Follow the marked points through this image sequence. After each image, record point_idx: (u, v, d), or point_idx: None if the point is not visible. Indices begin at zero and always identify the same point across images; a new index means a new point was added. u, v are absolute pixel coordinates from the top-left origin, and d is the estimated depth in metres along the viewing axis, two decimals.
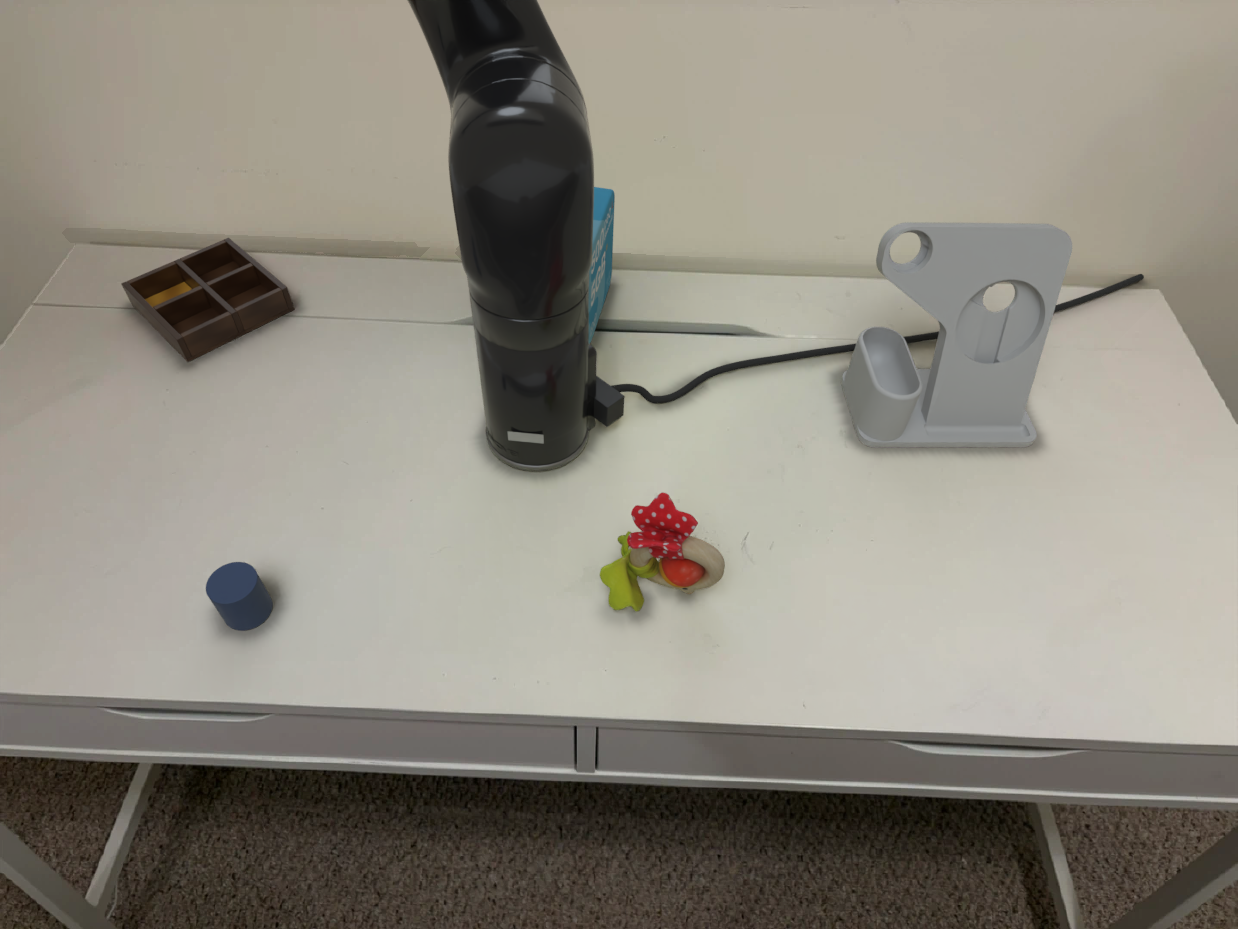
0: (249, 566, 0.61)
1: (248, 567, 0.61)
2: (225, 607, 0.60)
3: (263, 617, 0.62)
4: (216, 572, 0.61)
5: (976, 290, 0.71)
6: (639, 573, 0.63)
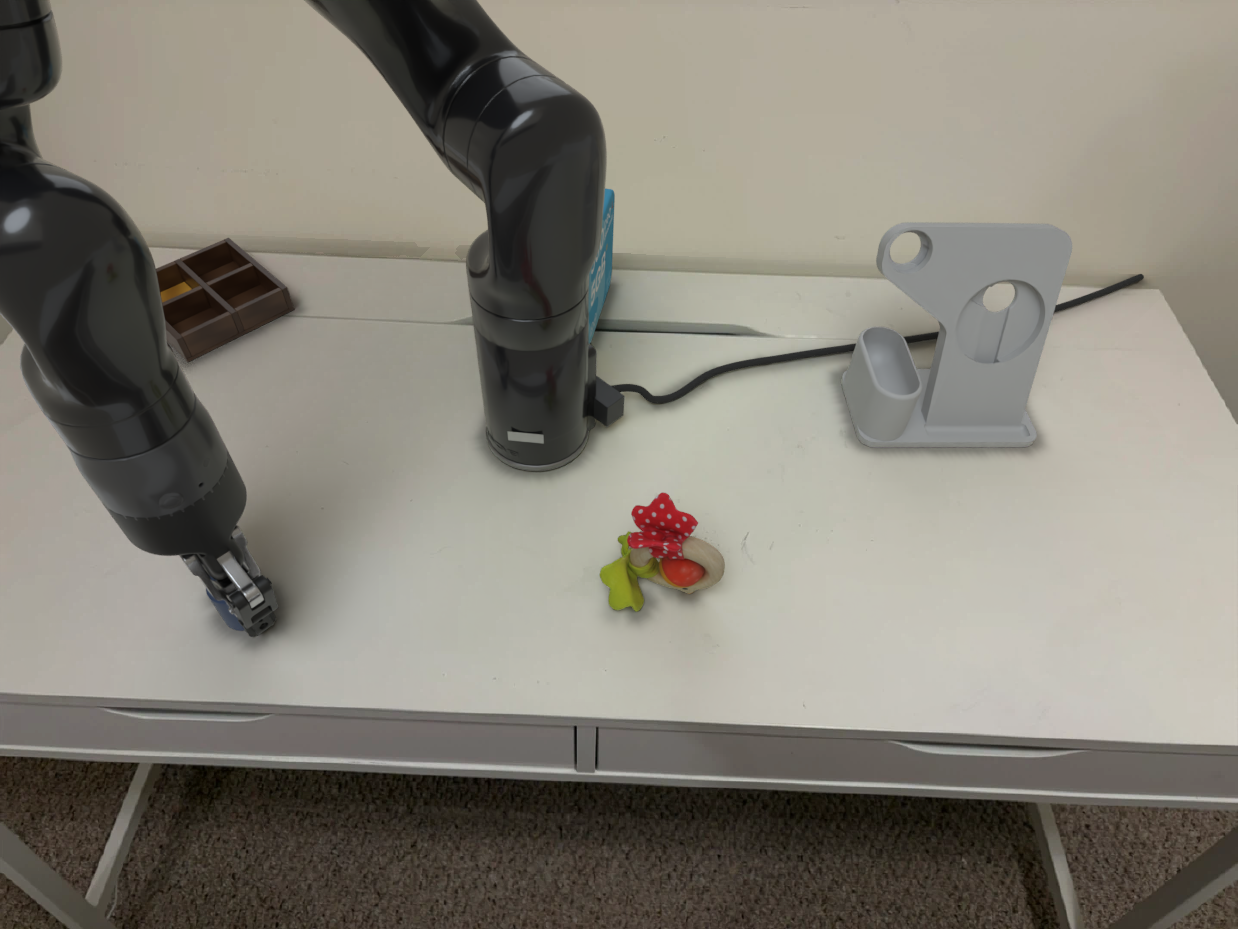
0: None
1: None
2: (225, 607, 0.60)
3: None
4: None
5: (976, 289, 0.71)
6: (639, 573, 0.63)
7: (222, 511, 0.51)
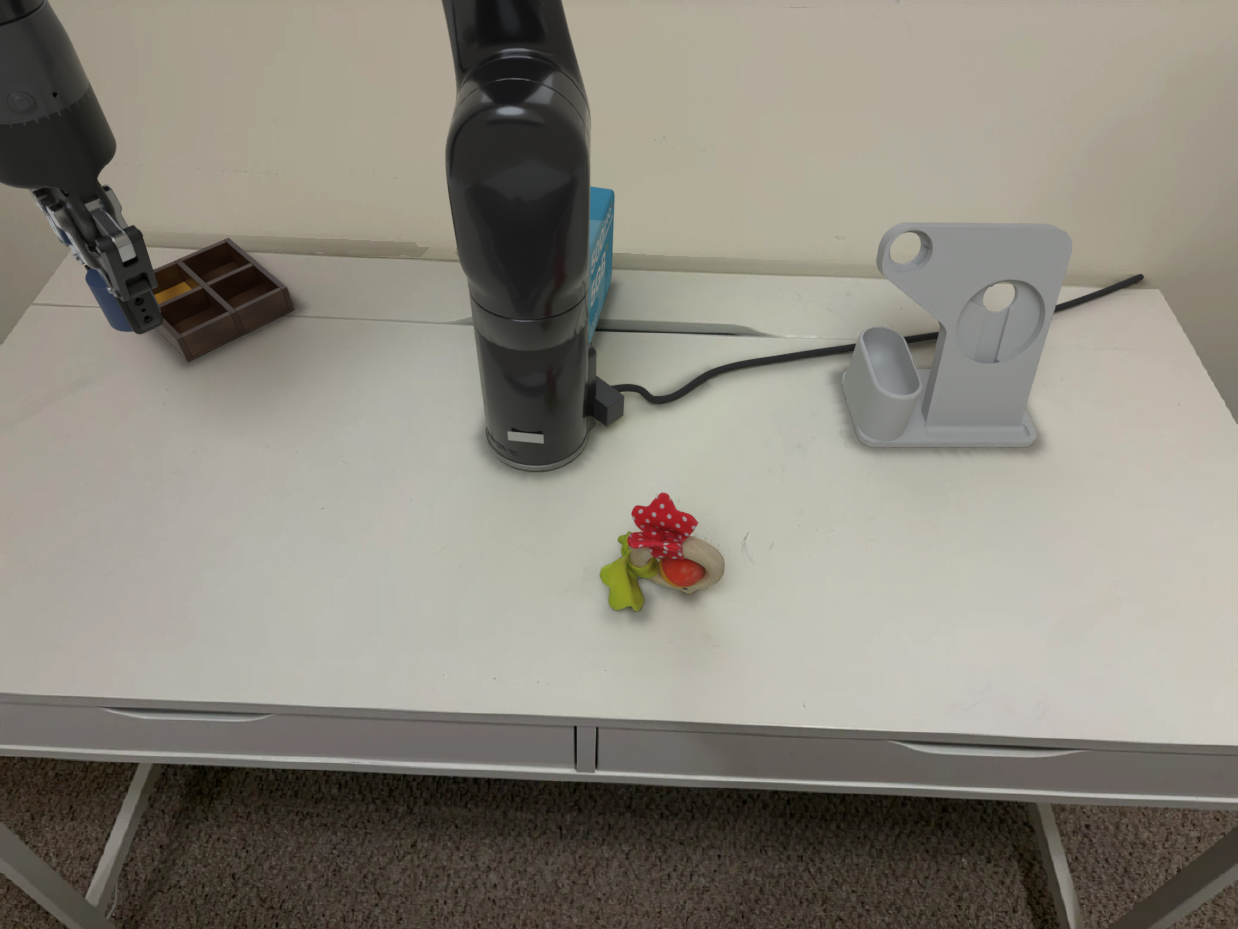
0: None
1: None
2: (105, 295, 0.58)
3: None
4: None
5: (976, 290, 0.71)
6: (639, 573, 0.63)
7: (84, 141, 0.50)
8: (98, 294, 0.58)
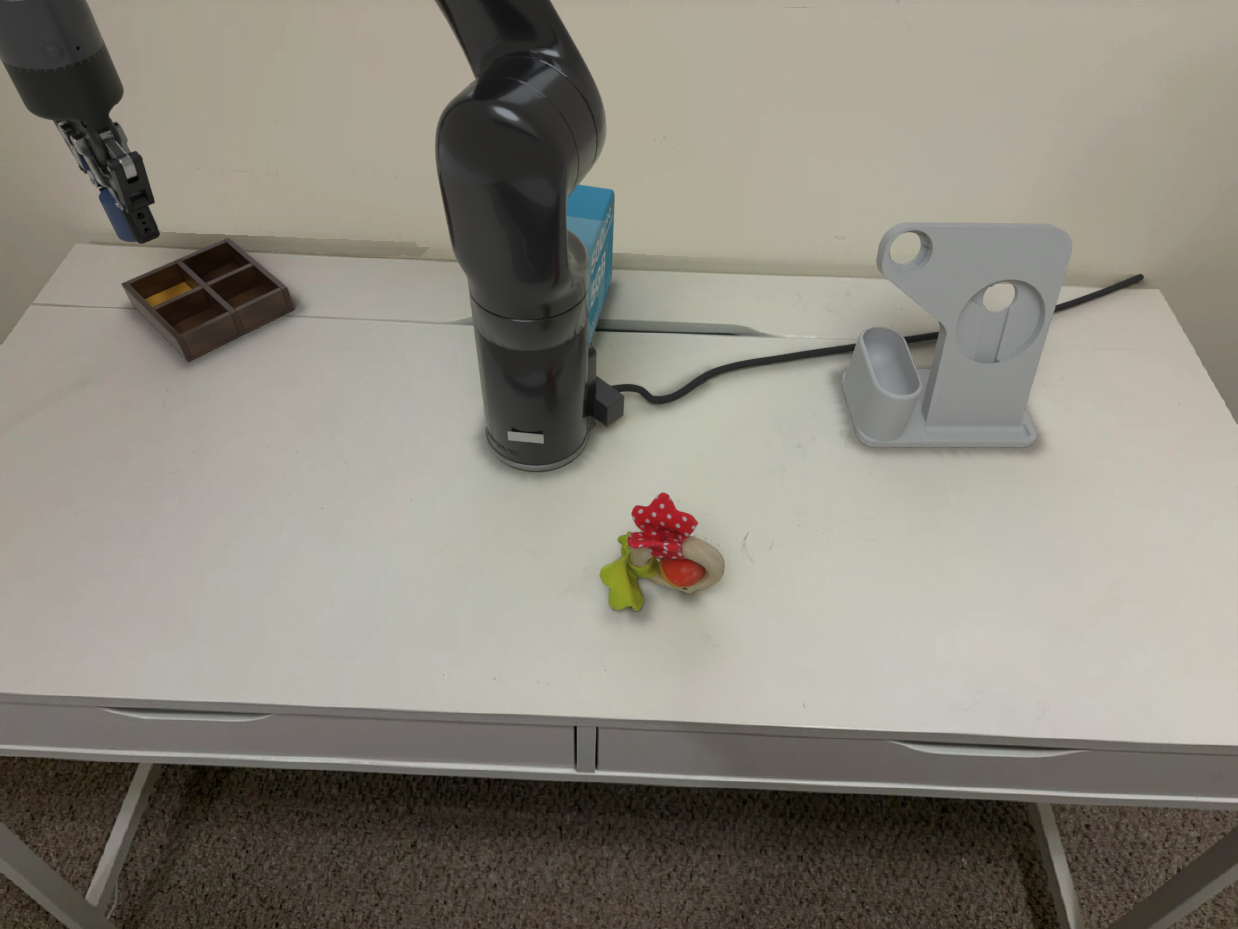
0: None
1: None
2: (114, 210, 0.75)
3: None
4: None
5: (976, 290, 0.71)
6: (639, 573, 0.63)
7: (99, 85, 0.66)
8: (108, 209, 0.75)
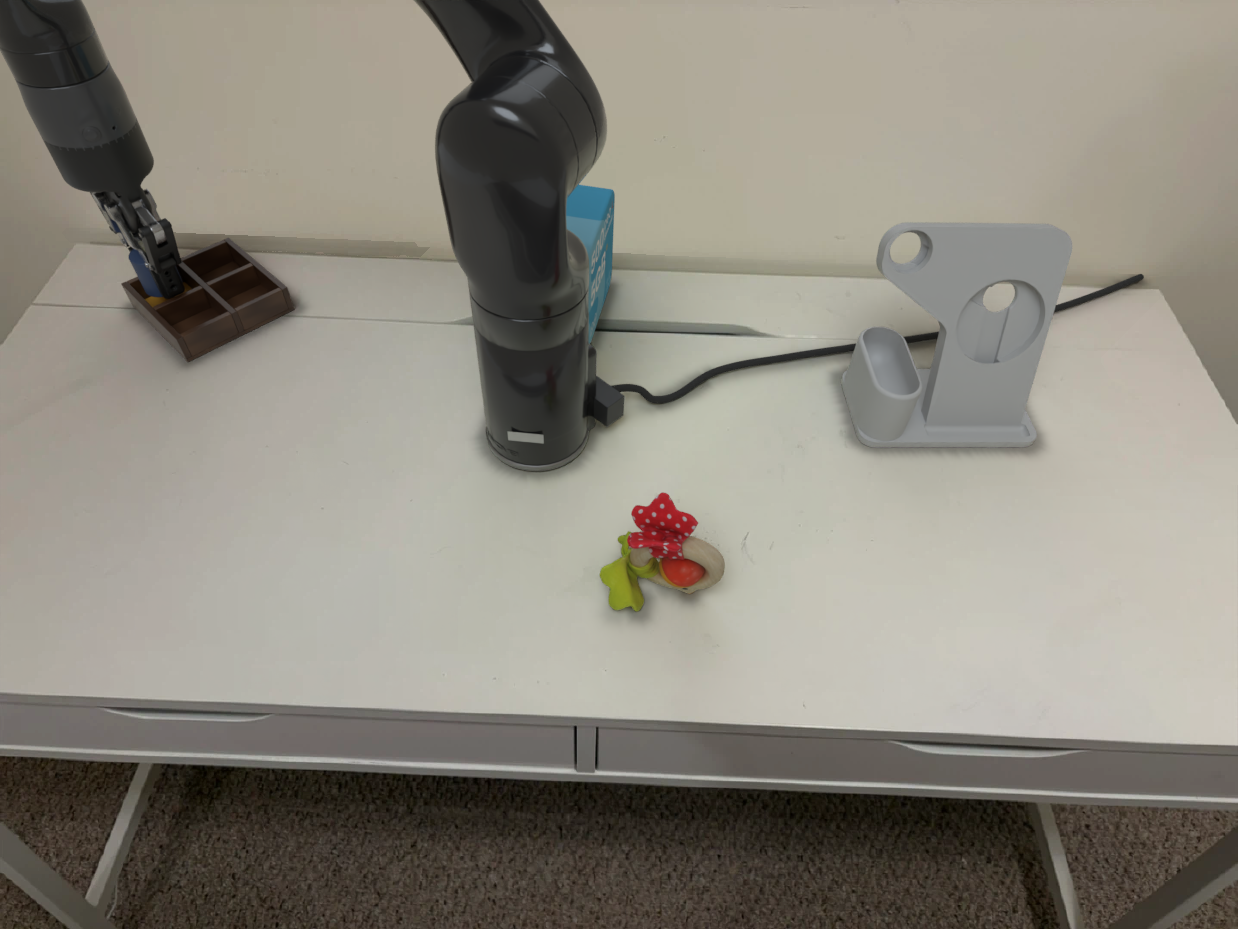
0: None
1: None
2: (143, 269, 0.80)
3: None
4: None
5: (976, 290, 0.71)
6: (639, 573, 0.63)
7: (132, 159, 0.71)
8: (137, 268, 0.80)
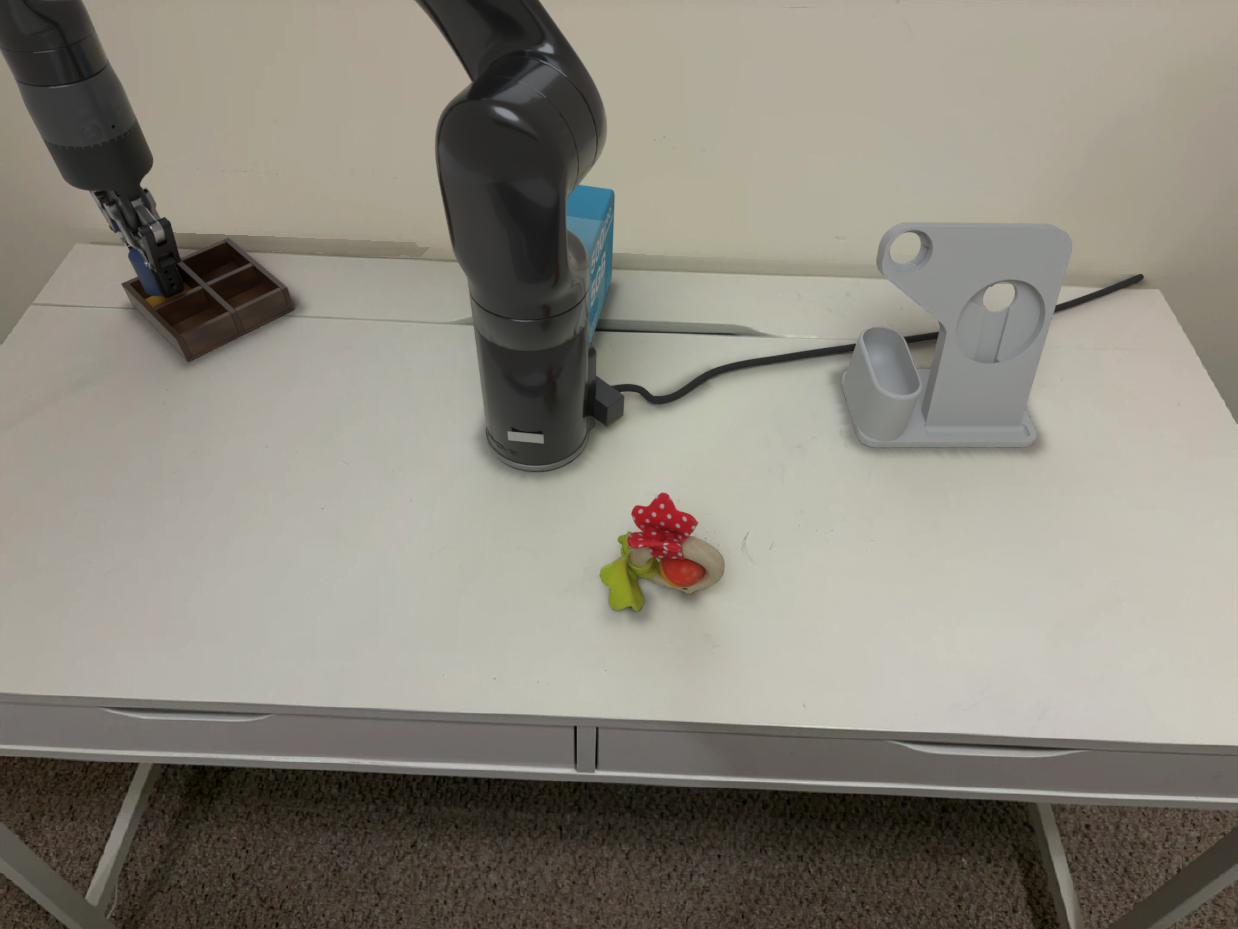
0: None
1: None
2: (142, 268, 0.80)
3: None
4: None
5: (976, 290, 0.71)
6: (639, 573, 0.63)
7: (131, 158, 0.71)
8: (137, 267, 0.80)
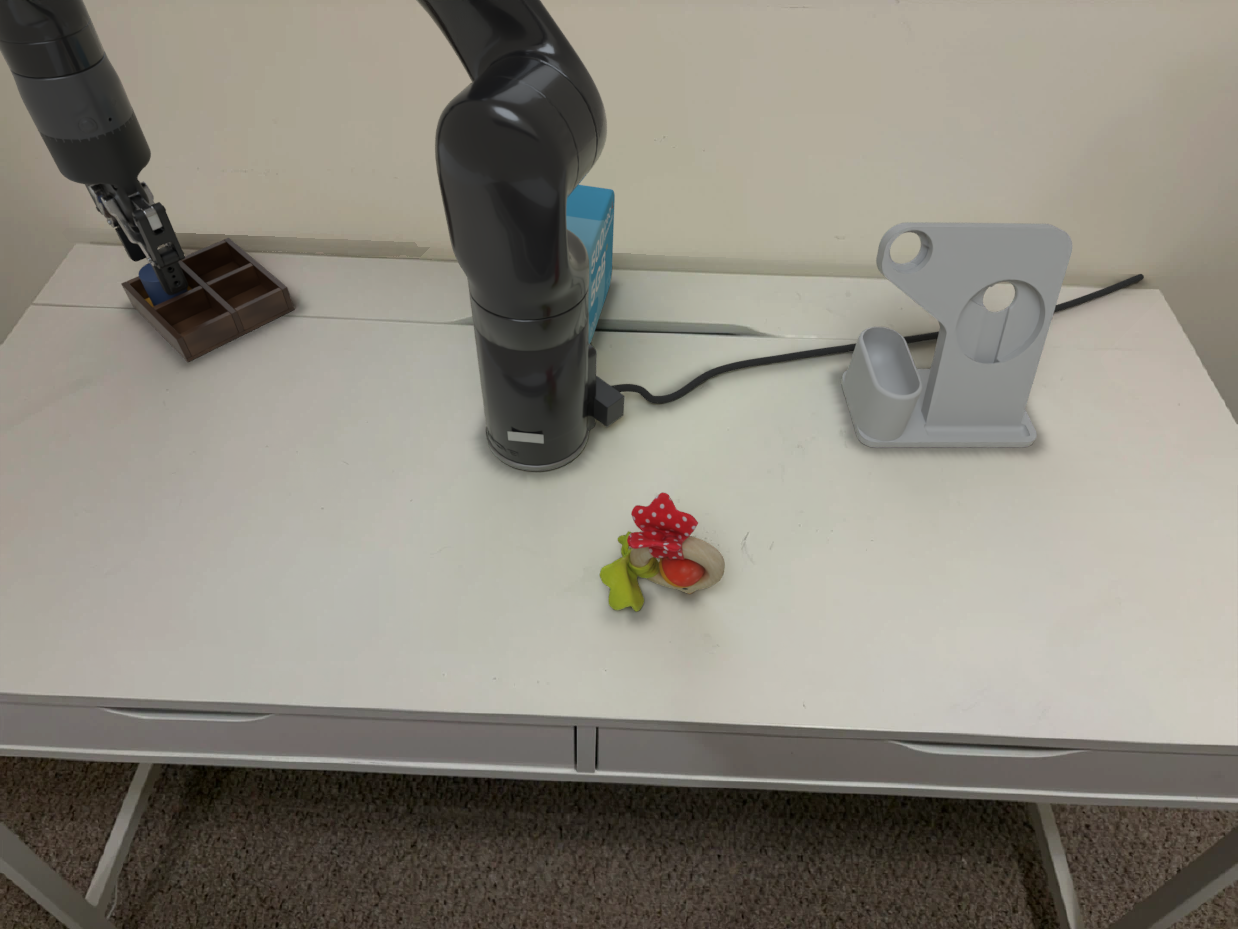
0: None
1: None
2: (152, 286, 0.82)
3: None
4: (147, 264, 0.83)
5: (976, 290, 0.71)
6: (639, 573, 0.63)
7: (129, 151, 0.71)
8: (147, 285, 0.82)
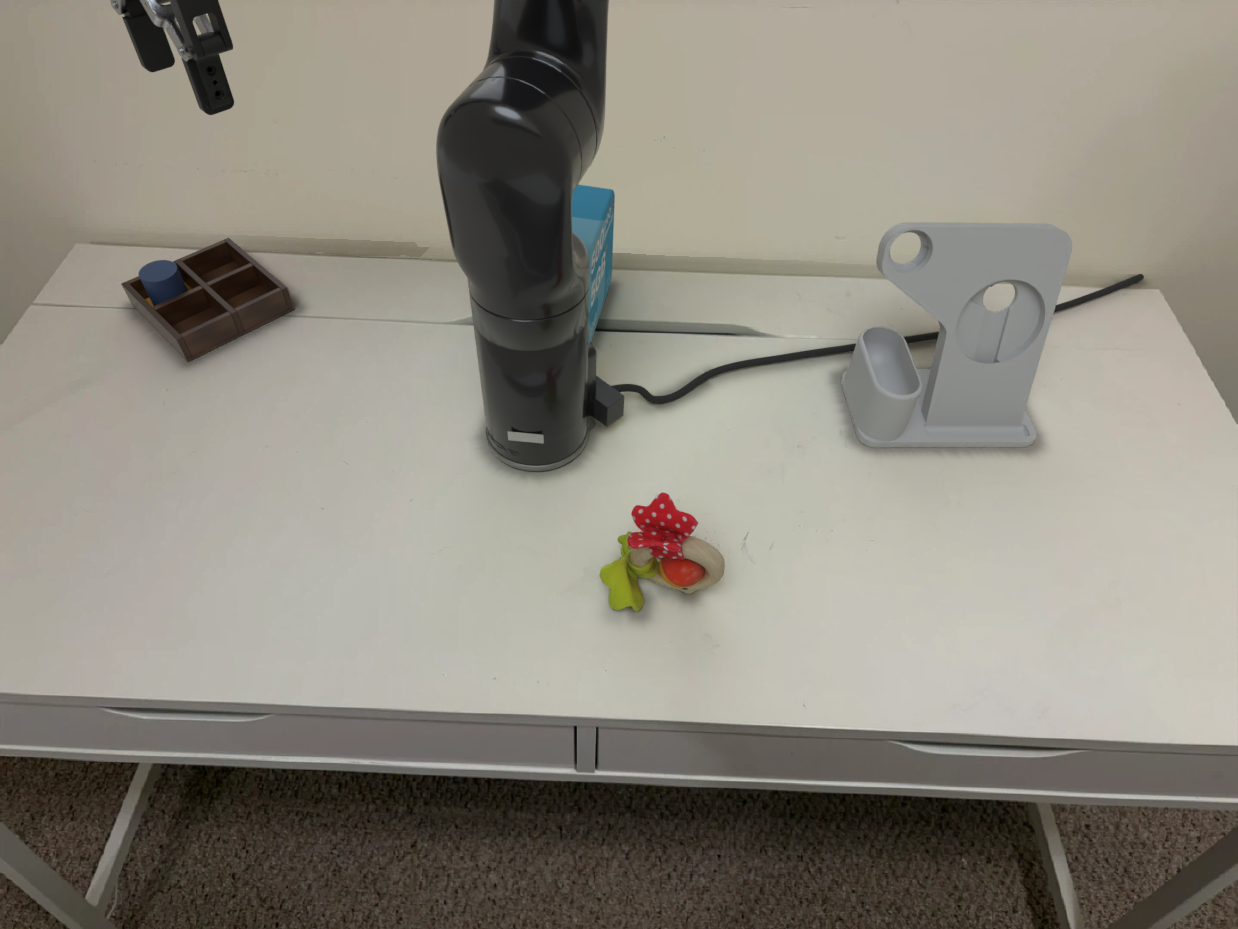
0: (172, 262, 0.83)
1: (171, 263, 0.83)
2: (152, 286, 0.82)
3: None
4: (147, 264, 0.83)
5: (976, 290, 0.71)
6: (639, 573, 0.63)
7: None
8: (147, 285, 0.82)
